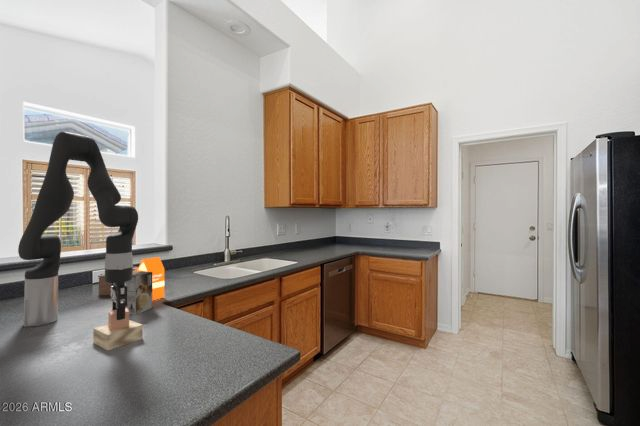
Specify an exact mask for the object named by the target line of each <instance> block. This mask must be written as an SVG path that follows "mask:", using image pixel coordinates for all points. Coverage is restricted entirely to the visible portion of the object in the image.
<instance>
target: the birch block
mask: <svg viewBox="0 0 640 426" xmlns="http://www.w3.org/2000/svg"><path fill="white" fill-rule="evenodd" d="M143 328H144V327H143V324H142V323H139V322H136V321H134V320H131V319H129V327H125V328H121V329H116V330H111V331H110V329H109V326H108V324H104V325H100V326H97V327H93V344H95V345H97V346H98V347H100V348H102V349H104V350H106V351H108V350H109V351H111V350H114V349H117V348H119V346H120V347H123V346H126V345H128V344H131V343H134V342H137V341H139V340H143ZM122 345H123V346H122ZM116 347H117V348H116ZM113 348H114V349H113Z"/></svg>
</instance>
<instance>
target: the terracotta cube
mask: <svg viewBox="0 0 640 426" xmlns="http://www.w3.org/2000/svg"><path fill="white" fill-rule="evenodd" d="M116 316H117V309H116V310H112V309H111V310H108V321H107V323H108V326H109V329H110V331H111V330H116V329H121V328H125V327H129V320H130V314H129V310H128V309H127V308H125V319H122V320H117V319H116Z"/></svg>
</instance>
